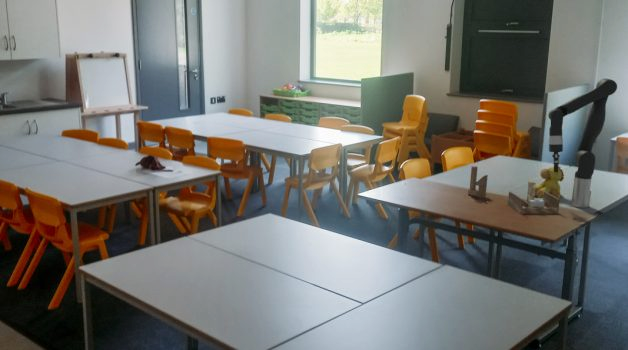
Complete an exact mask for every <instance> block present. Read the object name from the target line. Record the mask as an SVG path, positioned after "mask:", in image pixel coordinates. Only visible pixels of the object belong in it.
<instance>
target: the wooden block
mask: <svg viewBox="0 0 628 350" xmlns="http://www.w3.org/2000/svg"><path fill="white" fill-rule="evenodd" d="M478 169H479V168H478V166H477V165H472V166H471V169H470V179H469V180H470V181H469V188H468V189H467V190H468V191H467V195H469V196H472V197H476V198H480V199H485V198H487V187H488V174H486V175H485V174H484V175H483V176H482V177H480V179H478V181H477V176H478ZM477 186H478V188H477Z"/></svg>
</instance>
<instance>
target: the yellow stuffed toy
mask: <svg viewBox="0 0 628 350" xmlns="http://www.w3.org/2000/svg"><path fill="white" fill-rule="evenodd" d="M539 175H540V177H541V178H542V179H543V181H542V182H540V183H538V184H536V186H535V195H534V198H536V197H537V198H538V199H543V194H544V192H547V193H549V194H551V195H553V196H554V197H556V198H558V199H560V198H561V197H568V195H567V194H565V195H564V194H563V195H564V196H562V195H561V186H560V183H559V182H563V181H564V178H565V177H564V176H565V175H564V171H563V169H561V166H558V172H554V166H550V167H548V168H543V169H541V170H540V174H539Z"/></svg>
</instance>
